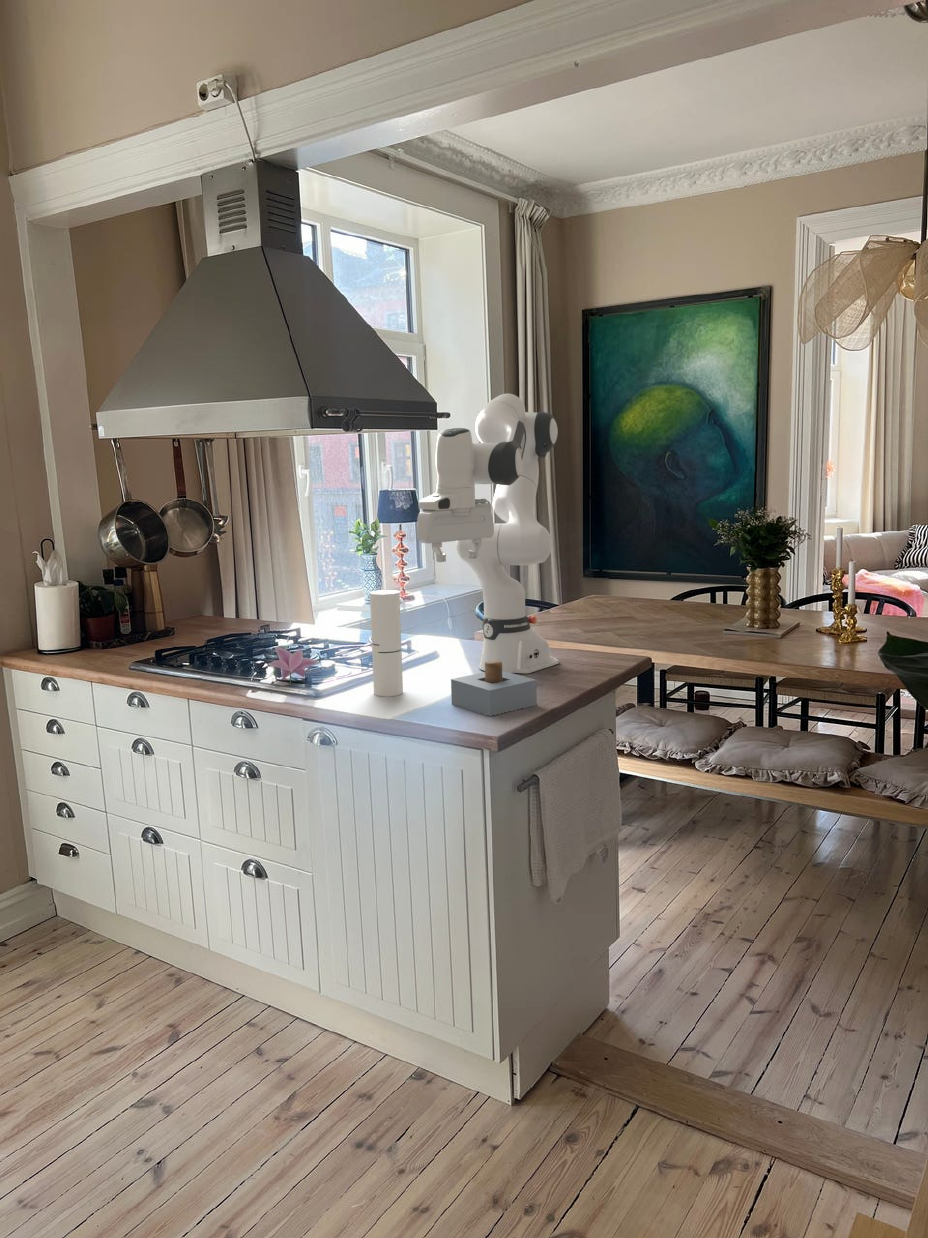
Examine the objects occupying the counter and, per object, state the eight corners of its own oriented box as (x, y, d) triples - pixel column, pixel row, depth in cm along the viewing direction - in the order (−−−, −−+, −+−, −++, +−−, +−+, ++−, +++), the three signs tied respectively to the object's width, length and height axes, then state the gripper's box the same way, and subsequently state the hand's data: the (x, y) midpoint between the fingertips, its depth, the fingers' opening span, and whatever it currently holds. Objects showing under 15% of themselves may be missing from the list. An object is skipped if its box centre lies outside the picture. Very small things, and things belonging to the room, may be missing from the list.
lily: (325, 685, 241) (323, 650, 244) (295, 677, 231) (293, 640, 234) (290, 695, 246) (288, 660, 249) (259, 687, 236) (258, 652, 239)
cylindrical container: (388, 687, 233) (384, 589, 228) (409, 691, 228) (405, 591, 224) (367, 693, 227) (363, 592, 223) (388, 698, 223) (384, 595, 218)
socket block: (497, 693, 225) (497, 669, 224) (536, 705, 214) (536, 679, 213) (451, 704, 216) (451, 679, 215) (490, 716, 205) (489, 690, 204)
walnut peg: (495, 701, 218) (494, 659, 216) (506, 704, 215) (505, 662, 213) (482, 704, 215) (481, 662, 214) (493, 708, 212) (492, 665, 210)
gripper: (482, 497, 222) (483, 555, 224) (412, 502, 209) (414, 562, 212) (499, 498, 217) (500, 557, 219) (428, 502, 205) (430, 565, 207)
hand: (457, 560), depth 216 cm, fingers open, 8 cm apart
